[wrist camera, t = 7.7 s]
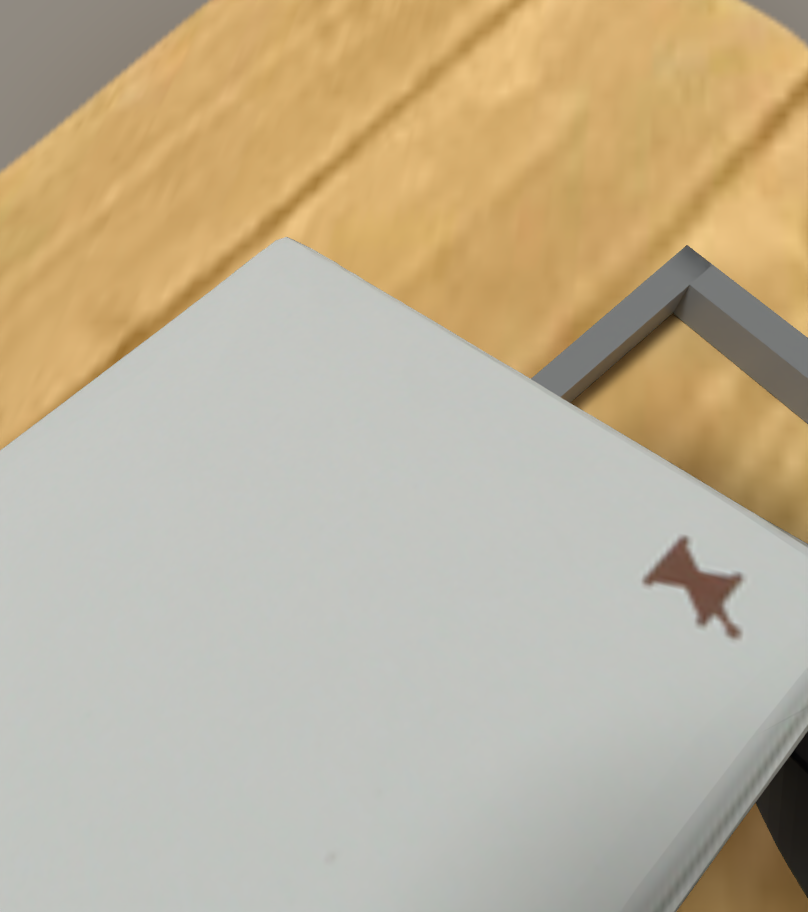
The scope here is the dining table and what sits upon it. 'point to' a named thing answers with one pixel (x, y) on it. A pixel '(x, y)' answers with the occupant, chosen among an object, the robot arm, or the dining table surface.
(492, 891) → the supplement box
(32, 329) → the dining table surface
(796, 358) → the shallow tray
